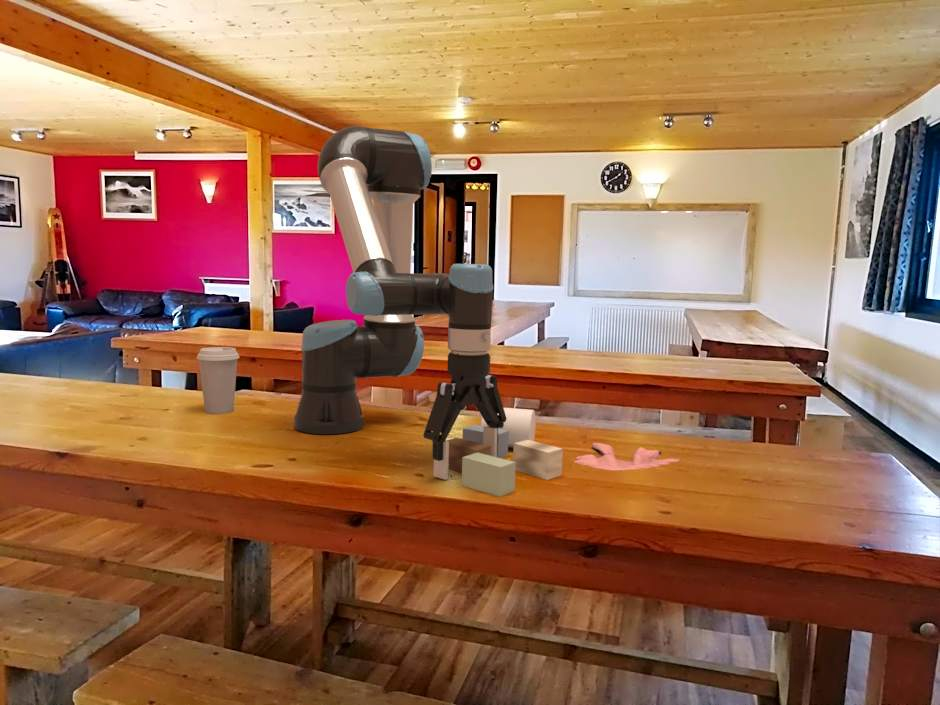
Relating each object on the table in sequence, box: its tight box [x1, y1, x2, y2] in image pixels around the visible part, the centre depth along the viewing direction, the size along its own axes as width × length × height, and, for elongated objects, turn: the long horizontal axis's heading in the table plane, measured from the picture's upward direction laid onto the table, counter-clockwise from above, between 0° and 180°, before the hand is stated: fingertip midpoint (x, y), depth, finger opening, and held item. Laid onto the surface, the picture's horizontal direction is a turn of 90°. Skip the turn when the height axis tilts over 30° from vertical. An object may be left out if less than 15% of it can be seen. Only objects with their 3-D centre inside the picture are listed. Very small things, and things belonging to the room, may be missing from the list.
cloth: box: [573, 442, 681, 471], centre depth 134 cm, size 20×22×2 cm
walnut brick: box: [445, 437, 491, 474], centre depth 122 cm, size 8×4×5 cm, turn 52°
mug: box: [480, 407, 537, 449], centre depth 140 cm, size 12×10×8 cm
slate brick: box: [462, 424, 509, 459], centre depth 133 cm, size 8×4×5 cm, turn 59°
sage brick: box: [461, 453, 516, 498], centre depth 112 cm, size 8×4×5 cm, turn 51°
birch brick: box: [512, 440, 564, 481], centre depth 122 cm, size 8×4×5 cm, turn 45°
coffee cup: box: [196, 346, 240, 415], centre depth 162 cm, size 10×10×15 cm
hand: (466, 469), depth 122 cm, fingers open, 13 cm apart
